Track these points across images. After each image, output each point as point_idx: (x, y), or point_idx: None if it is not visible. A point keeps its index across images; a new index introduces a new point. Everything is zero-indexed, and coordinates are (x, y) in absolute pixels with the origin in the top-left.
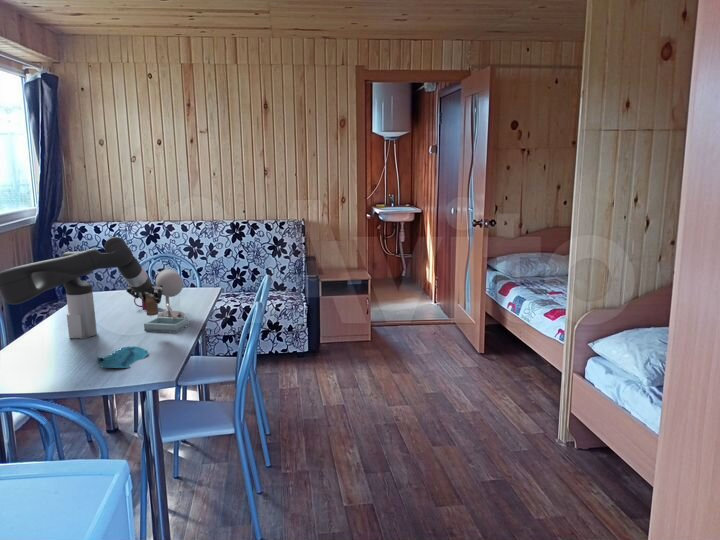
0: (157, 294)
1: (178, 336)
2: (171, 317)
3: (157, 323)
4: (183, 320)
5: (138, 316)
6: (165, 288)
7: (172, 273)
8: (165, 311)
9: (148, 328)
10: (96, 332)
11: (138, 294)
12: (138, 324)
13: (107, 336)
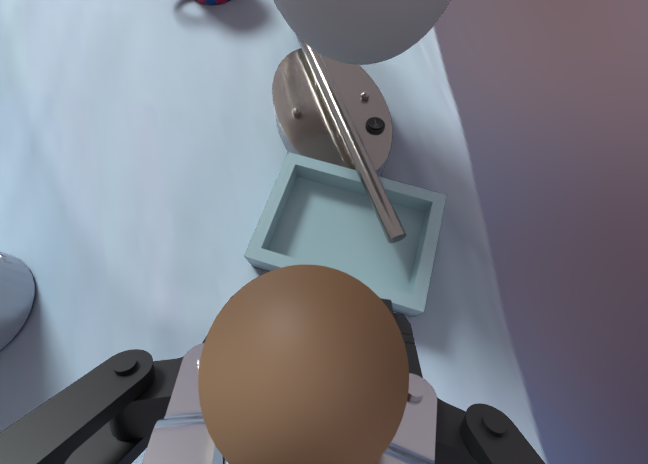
0: (437, 460)
1: (448, 388)
2: (373, 204)
3: (294, 192)
4: (434, 224)
5: (188, 68)
6: (353, 30)
7: None
8: (292, 55)
9: (271, 270)
10: (27, 298)
11: (146, 421)
12: (206, 168)
13: (89, 340)
